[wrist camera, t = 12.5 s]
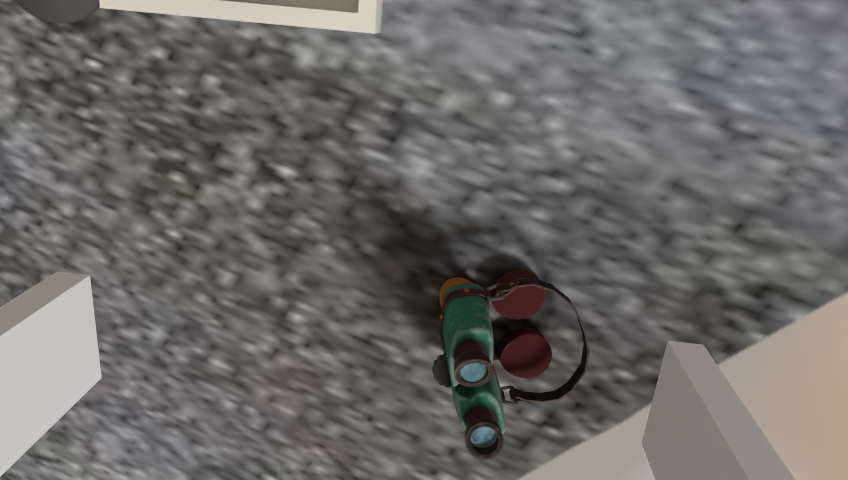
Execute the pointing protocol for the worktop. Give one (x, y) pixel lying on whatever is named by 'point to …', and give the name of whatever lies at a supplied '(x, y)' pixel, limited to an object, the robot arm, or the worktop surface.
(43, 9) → the lens cap
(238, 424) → the worktop surface
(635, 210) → the worktop surface
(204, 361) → the worktop surface
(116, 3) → the mount tray
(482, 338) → the binoculars
